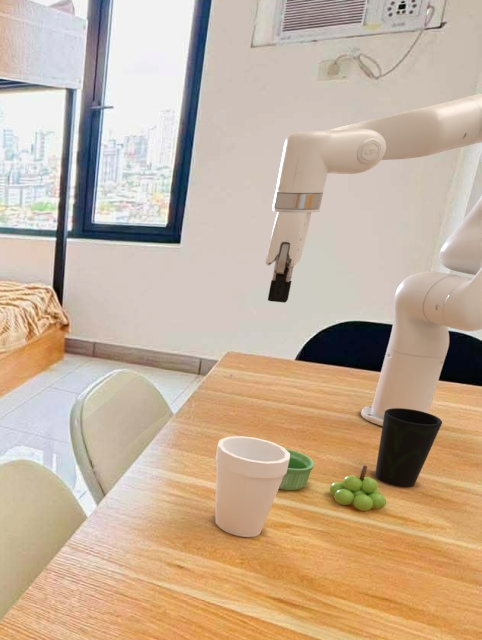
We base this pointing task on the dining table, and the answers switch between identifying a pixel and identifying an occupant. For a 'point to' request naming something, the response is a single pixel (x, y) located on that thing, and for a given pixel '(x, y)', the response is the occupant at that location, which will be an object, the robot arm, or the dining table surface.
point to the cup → (405, 445)
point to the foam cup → (247, 483)
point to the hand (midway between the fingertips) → (277, 300)
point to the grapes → (358, 492)
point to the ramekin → (297, 471)
